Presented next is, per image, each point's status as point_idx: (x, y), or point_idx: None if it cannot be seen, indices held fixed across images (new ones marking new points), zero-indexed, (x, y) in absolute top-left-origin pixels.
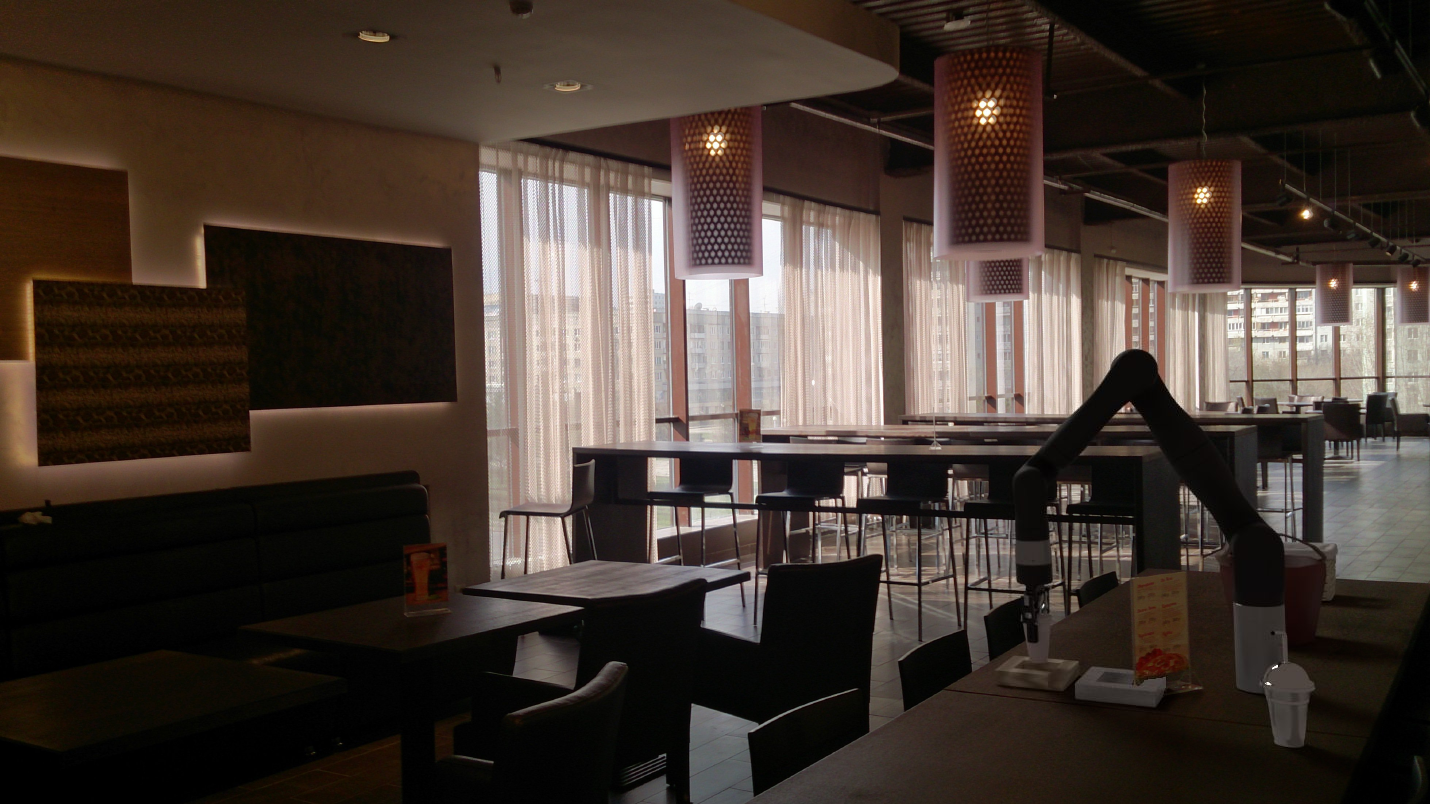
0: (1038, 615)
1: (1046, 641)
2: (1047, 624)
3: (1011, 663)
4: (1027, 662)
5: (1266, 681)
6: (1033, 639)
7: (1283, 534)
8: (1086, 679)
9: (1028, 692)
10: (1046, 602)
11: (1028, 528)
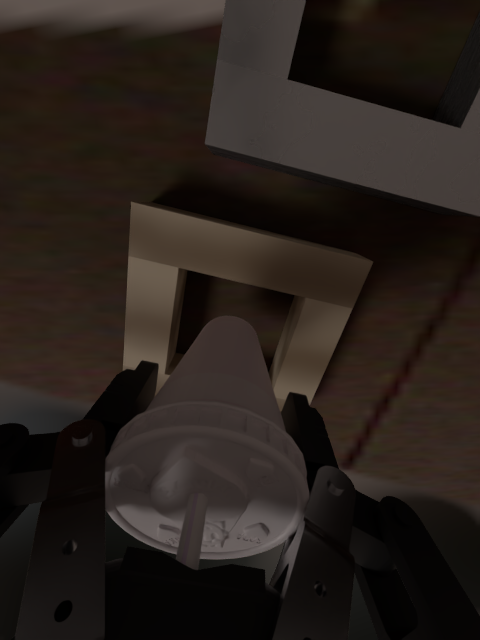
0: (312, 524)
1: (254, 357)
2: (261, 412)
3: None
4: (168, 361)
5: None
6: (317, 418)
7: None
8: (422, 169)
9: (364, 339)
10: (72, 581)
11: None
